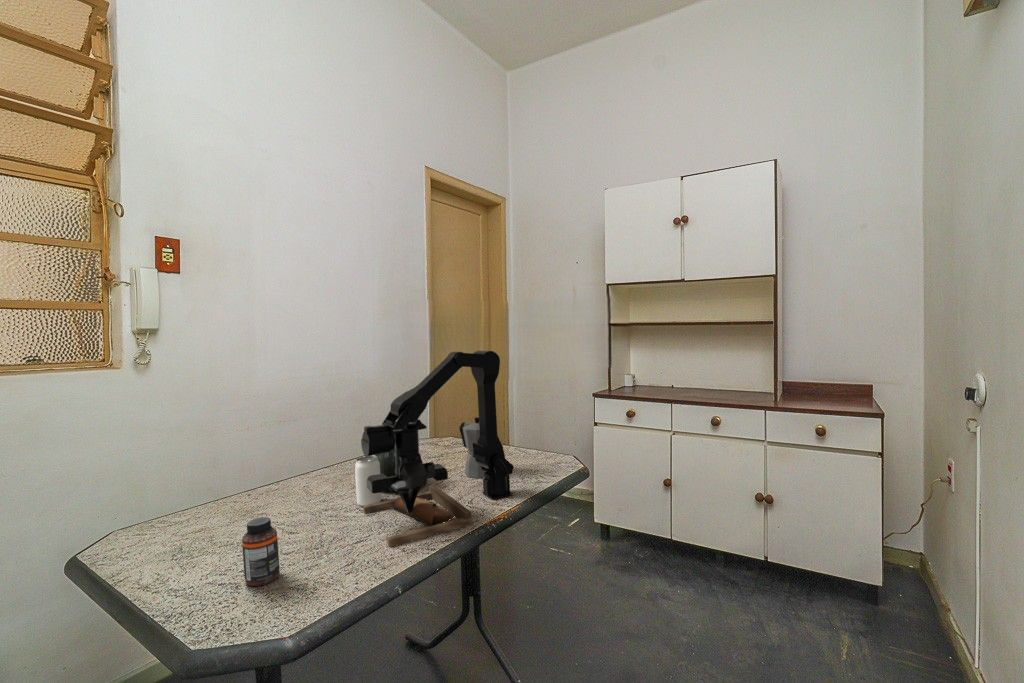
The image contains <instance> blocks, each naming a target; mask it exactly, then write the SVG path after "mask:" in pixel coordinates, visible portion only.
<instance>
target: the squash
mask: <svg viewBox="0 0 1024 683" xmlns="http://www.w3.org/2000/svg"><path fill="white" fill-rule="evenodd" d="M394 452H395V446H394V449H392V450H391V452H389V453H383V454H378V455H374V456H377V457H378V461H379V463H380V474H384V475H385V476H386V477H391V476H396V473H395V469H396V464H395V457H394ZM421 461H422V462H423V460H422V458H421ZM388 490H389V491H390V492H396V491H395V490H394V489H393V488H392V487H391V485H389V489H388ZM388 490H387V491H386V492H388Z"/></svg>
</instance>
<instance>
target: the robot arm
mask: <svg viewBox="0 0 1024 683" xmlns="http://www.w3.org/2000/svg"><path fill="white" fill-rule="evenodd" d="M500 358H501V357H500V356H499V355H498V353H496V352H495V351H493V350H476V351H474V352H472V353H469V352H463V351H451V352H449V353H448V355H447V356H446V357H445V358H444V359H443V360H442V362H440V363H439V364H438V365H437V366H436V367H435V368H434V369H433V370H432V371H431V372H430V373H429V374H428V375H427V376H426V377H425V378H423V380H421V381H420V383H418V385H416V386H414V387H413V388H411V389H409V390H407V391H405V392H404V393H402V394H400V395H399V396H397V397H396V398H395V399H393V401H392V402H391V404H390V410H389V412H388V413H387V415H386V417H385V418H384V420H383V421H382V424H380V425H379V424H378V425H373V426H372V425H365V426H364V427H363V433H362V437H361V439H360V441H361V442H360V443H361V445H360V446H361V451H362V454H363V455H364V457H365V456H375V455H378V454H383V453H389V452H391V450H392V449H394V446H395V452H394V457H395V464H396V469H395V473H396V476H391V477H386V476H385V475H384V474H378V475H372V476H369V477H368V478H367V488H368V489H369V490H370V491H371V493H380V492H381V493H384V492H388V491H387V490H388V489H389V485H391V487H392V488H393V489H394V490H395V491H394V492H397V493H398V495H399V497H401V498H402V501H403V503H404V506H405V508H406V510H407V512H408V513H411V512H412V509H413V506H414V503H415V500H416V497H417V494H419V493H420V491H421V489H422V488H425V487H426V486H427V484H428V480H429V479H434V480H435V482H441V481H445V480H448V478H449V476H448V475H449V473H448V468H446V467H445V466H443V465H441V464H440V463H435V464H434V461H431V462H424V463H423V460H422V461H421V459H422V455H421V453H420V442H419V441H420V440H419V439H420V438H419V430H426V429H427V425H426V424H424V423H423V422H422V420H421V419H419V418H420V417H421V416H422V414H423V412H424V411H425V410H426V409H427V406H428V403H429V402H430V400H431V399H432V397H433V396H434V395H435V394H436V393H437V392H438V391H439V390H440V389H441V388H442V387H443V386H444V385H445V384H446V383H447V382H448V381H450V380H451V378H452V377H453V376H454V375H456V373H457V372H458V371H459V370H460V369H462V368H463V367H465V368H470V370H471V371H470V372H471V374H472V376H473V378H474V381H475V382H476V386H477V390H476V391H477V406H478V407H477V408H478V418H479V428H480V437H479V439H478V442H477V443H473V450H474V452H473V457H474V458H475V461H476V463H477V464H479V465H480V467H481V469H482V470H483V471H486V472H485V473H484V478H482V487H483V491H482V494H483V495H484V496H486V497H488V498H489V499H491V500H497V499H502V498H506V497H509V496H512V495H513V496H514V492H513V491H511V478H510V475H512V474H513V471H514V467H515V466H514V465H513V463H511V462H510V461H509V460H508V459H506V455H505V450H504V445H503V444H502V441H501V440H500V438H499V435H498V420H497V419H498V418H497V415H498V414H497V398H496V382H497V380H498V376H499V374H500V367H501V359H500Z"/></svg>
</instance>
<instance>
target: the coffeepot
mask: <svg viewBox="0 0 1024 683" xmlns="http://www.w3.org/2000/svg"><path fill="white" fill-rule="evenodd" d="M458 428H459V432H460V437H461V440H462V444H463V447H464V448H465V449H467V454H466V462H465V467H464V468H465V470H464V475H465V476H466V477H467V478H471V479H484V478H483V477H484V473H485V472H486V471H483V470H482V469H481V467H480V465H479V464H477V463H476V461H475V458H474V457H473V452H474V450H473V443H477V442H478V439H479V437H480V428H479V416H478V417H476V416H475V417H474V423H470V422H464V421H463V422H461V424H460V425H459V427H458Z"/></svg>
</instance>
